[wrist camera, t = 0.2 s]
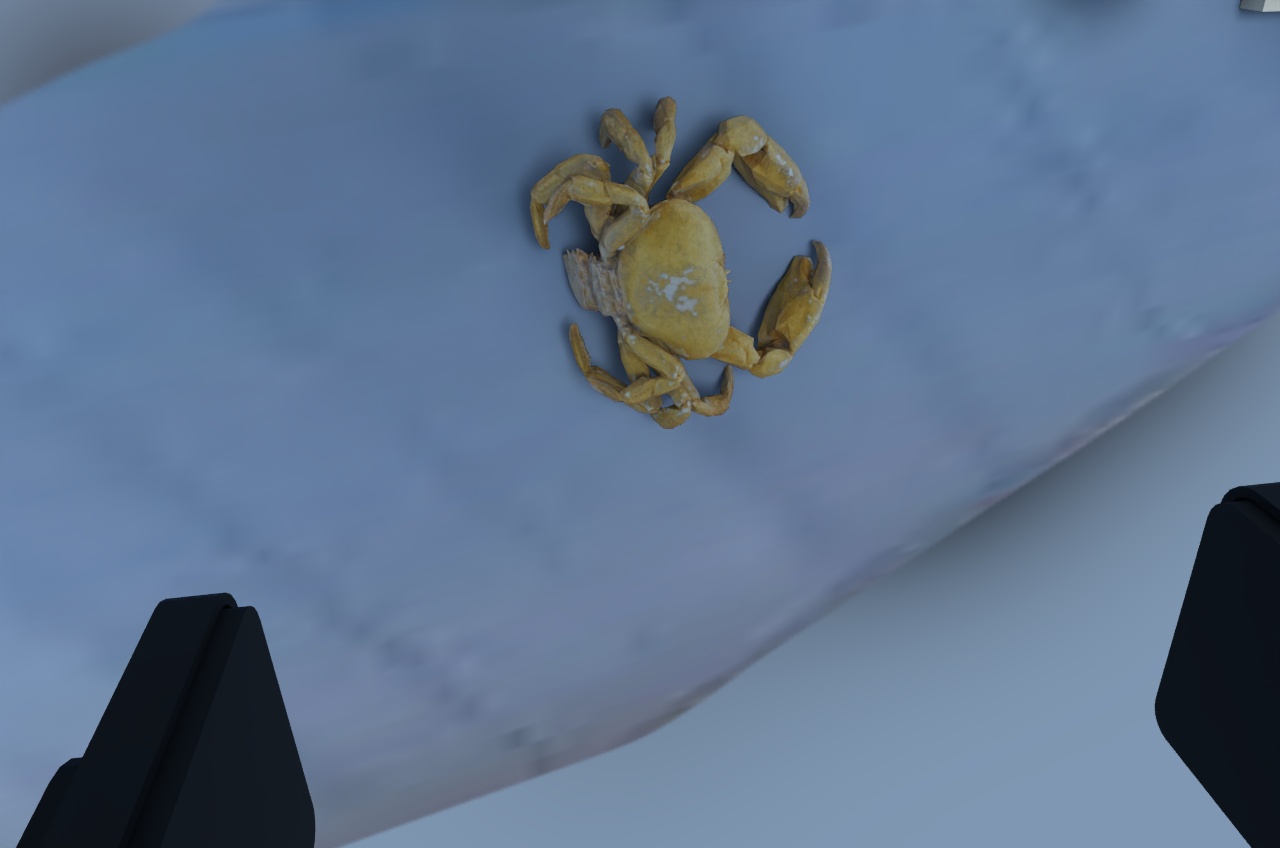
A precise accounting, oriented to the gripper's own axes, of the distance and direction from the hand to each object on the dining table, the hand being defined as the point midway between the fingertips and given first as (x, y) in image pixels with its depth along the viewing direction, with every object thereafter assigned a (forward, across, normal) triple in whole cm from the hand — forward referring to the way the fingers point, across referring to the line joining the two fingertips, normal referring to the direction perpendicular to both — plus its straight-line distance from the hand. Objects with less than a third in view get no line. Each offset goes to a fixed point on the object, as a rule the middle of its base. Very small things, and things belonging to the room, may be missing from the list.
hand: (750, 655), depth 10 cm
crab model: (+37, -5, +8) cm, 38 cm away
